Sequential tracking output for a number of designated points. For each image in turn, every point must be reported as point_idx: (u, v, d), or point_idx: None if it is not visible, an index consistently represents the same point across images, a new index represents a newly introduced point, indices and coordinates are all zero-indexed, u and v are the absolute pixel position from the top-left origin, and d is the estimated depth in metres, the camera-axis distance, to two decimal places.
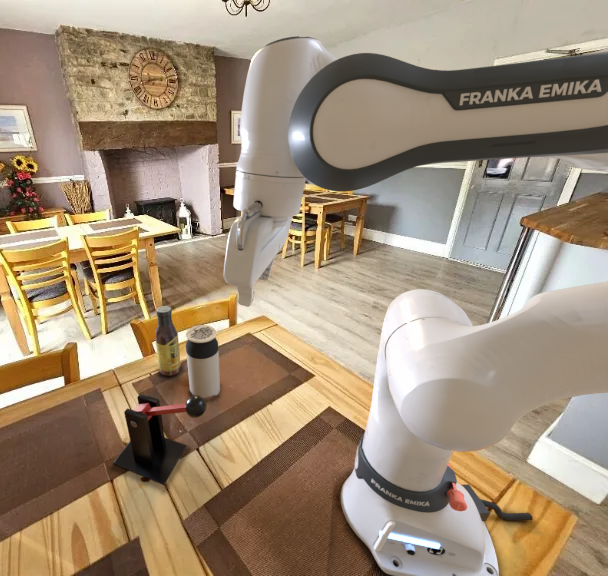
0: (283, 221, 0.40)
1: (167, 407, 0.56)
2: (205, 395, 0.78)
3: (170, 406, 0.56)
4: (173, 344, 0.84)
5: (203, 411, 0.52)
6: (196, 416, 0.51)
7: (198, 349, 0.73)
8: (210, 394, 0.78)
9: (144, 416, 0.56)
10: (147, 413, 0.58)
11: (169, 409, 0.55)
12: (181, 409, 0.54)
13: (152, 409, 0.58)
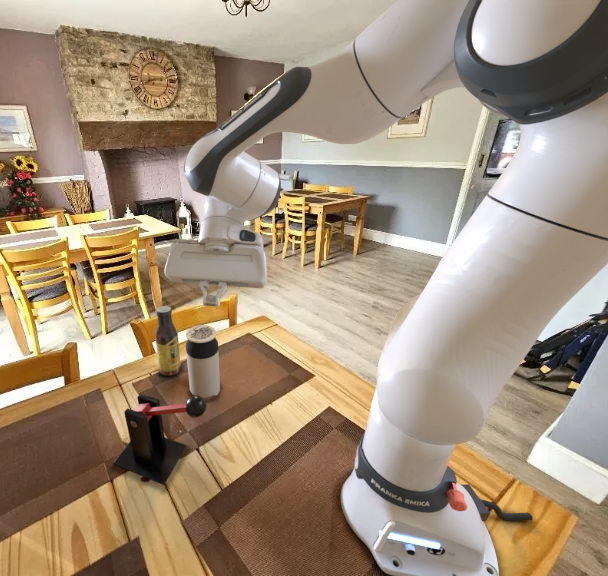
0: (209, 245, 0.60)
1: (167, 407, 0.56)
2: (205, 395, 0.78)
3: (170, 406, 0.56)
4: (173, 344, 0.84)
5: (203, 411, 0.52)
6: (196, 416, 0.51)
7: (198, 349, 0.73)
8: (210, 394, 0.78)
9: (144, 416, 0.56)
10: (147, 413, 0.58)
11: (169, 409, 0.55)
12: (181, 409, 0.54)
13: (152, 409, 0.58)
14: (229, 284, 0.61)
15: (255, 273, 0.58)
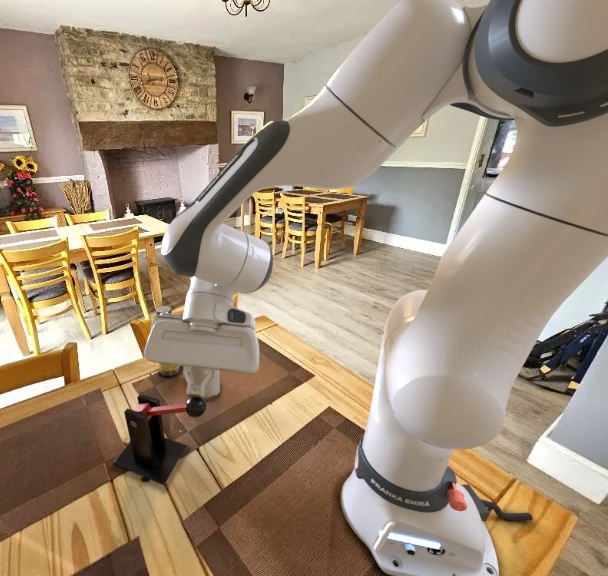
0: (194, 325, 0.53)
1: (167, 407, 0.56)
2: (205, 395, 0.78)
3: (170, 406, 0.56)
4: None
5: (203, 411, 0.52)
6: (196, 416, 0.51)
7: None
8: (210, 394, 0.78)
9: (144, 416, 0.56)
10: (147, 413, 0.58)
11: (169, 409, 0.55)
12: (181, 409, 0.54)
13: (152, 409, 0.58)
14: None
15: (245, 360, 0.51)
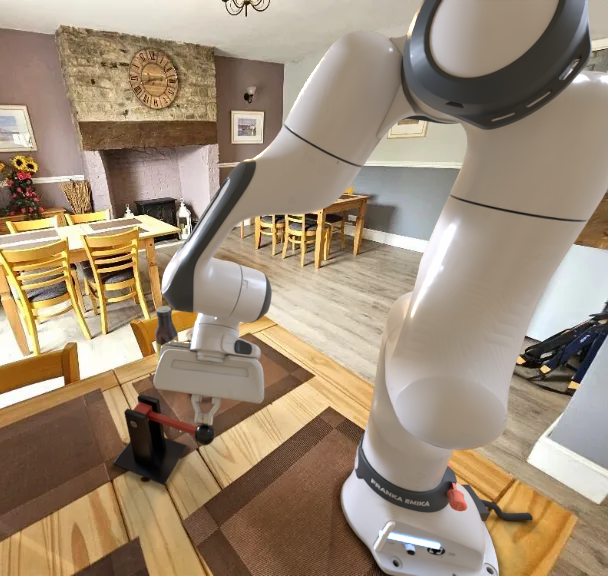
0: (201, 356, 0.55)
1: (173, 421, 0.57)
2: None
3: (176, 421, 0.57)
4: None
5: (211, 442, 0.54)
6: (204, 445, 0.54)
7: None
8: None
9: (144, 416, 0.56)
10: (149, 416, 0.58)
11: (175, 425, 0.56)
12: (189, 430, 0.55)
13: (155, 415, 0.58)
14: None
15: (251, 391, 0.53)
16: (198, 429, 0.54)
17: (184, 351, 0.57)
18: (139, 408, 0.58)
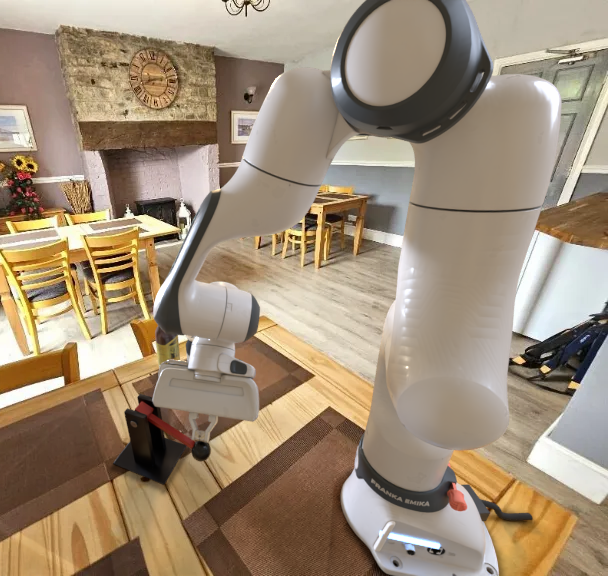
0: (199, 375, 0.58)
1: (173, 429, 0.58)
2: None
3: (176, 431, 0.58)
4: (173, 344, 0.84)
5: (205, 459, 0.57)
6: (199, 461, 0.56)
7: None
8: None
9: (144, 416, 0.56)
10: (149, 419, 0.58)
11: (175, 434, 0.57)
12: (187, 443, 0.57)
13: (156, 419, 0.58)
14: None
15: (246, 410, 0.55)
16: (197, 446, 0.56)
17: (182, 370, 0.60)
18: (141, 408, 0.58)
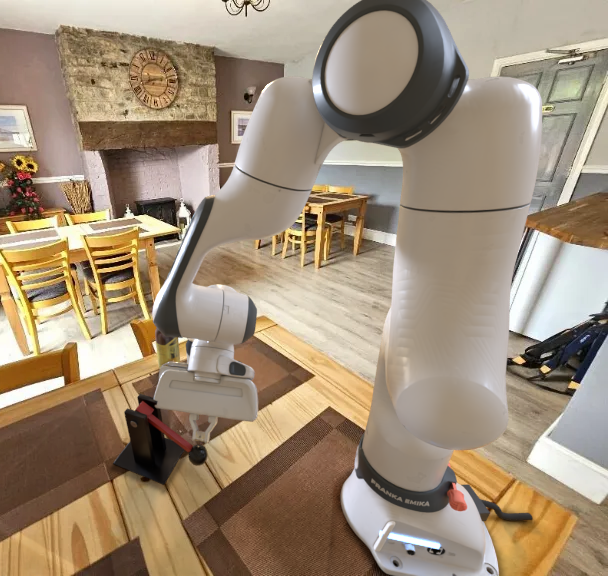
0: (198, 377, 0.59)
1: (172, 432, 0.58)
2: None
3: (175, 434, 0.58)
4: (173, 344, 0.84)
5: None
6: (195, 465, 0.57)
7: None
8: None
9: (144, 416, 0.56)
10: (148, 419, 0.58)
11: (173, 437, 0.58)
12: (184, 447, 0.58)
13: (155, 420, 0.59)
14: None
15: (245, 410, 0.56)
16: (195, 451, 0.57)
17: (182, 372, 0.61)
18: (142, 409, 0.58)
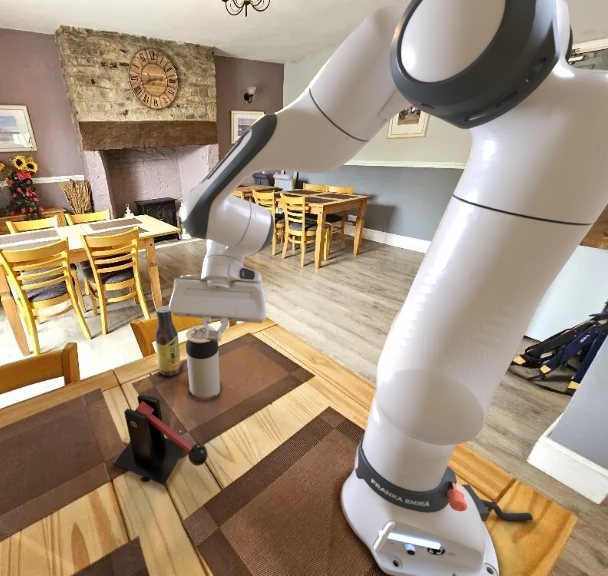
0: (211, 282, 0.64)
1: (172, 432, 0.58)
2: (205, 395, 0.78)
3: (175, 434, 0.58)
4: (173, 344, 0.84)
5: None
6: (195, 465, 0.57)
7: (198, 349, 0.73)
8: (210, 394, 0.78)
9: (144, 416, 0.56)
10: (148, 419, 0.58)
11: (173, 437, 0.58)
12: (184, 447, 0.58)
13: (155, 420, 0.59)
14: (230, 319, 0.64)
15: (254, 310, 0.61)
16: (195, 451, 0.57)
17: (195, 281, 0.66)
18: (142, 409, 0.58)
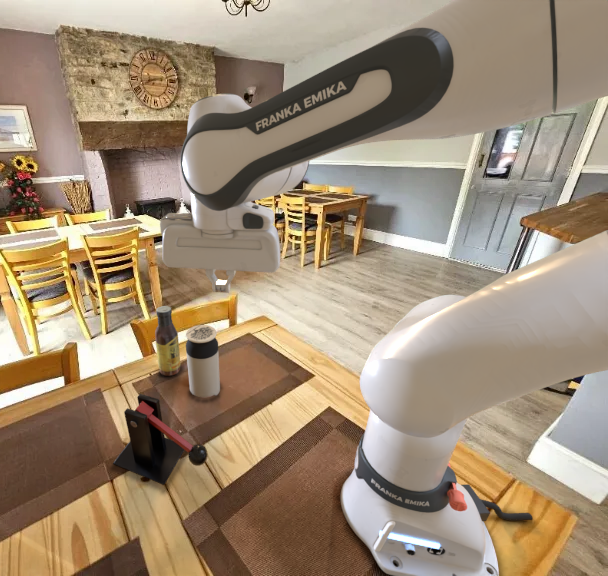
0: (207, 233, 0.49)
1: (172, 432, 0.58)
2: (205, 395, 0.78)
3: (175, 434, 0.58)
4: (173, 344, 0.84)
5: None
6: (195, 465, 0.57)
7: (198, 349, 0.73)
8: (210, 394, 0.78)
9: (144, 416, 0.56)
10: (148, 419, 0.58)
11: (173, 437, 0.58)
12: (184, 447, 0.58)
13: (155, 420, 0.59)
14: None
15: (266, 263, 0.50)
16: (195, 451, 0.57)
17: (186, 227, 0.50)
18: (142, 409, 0.58)
